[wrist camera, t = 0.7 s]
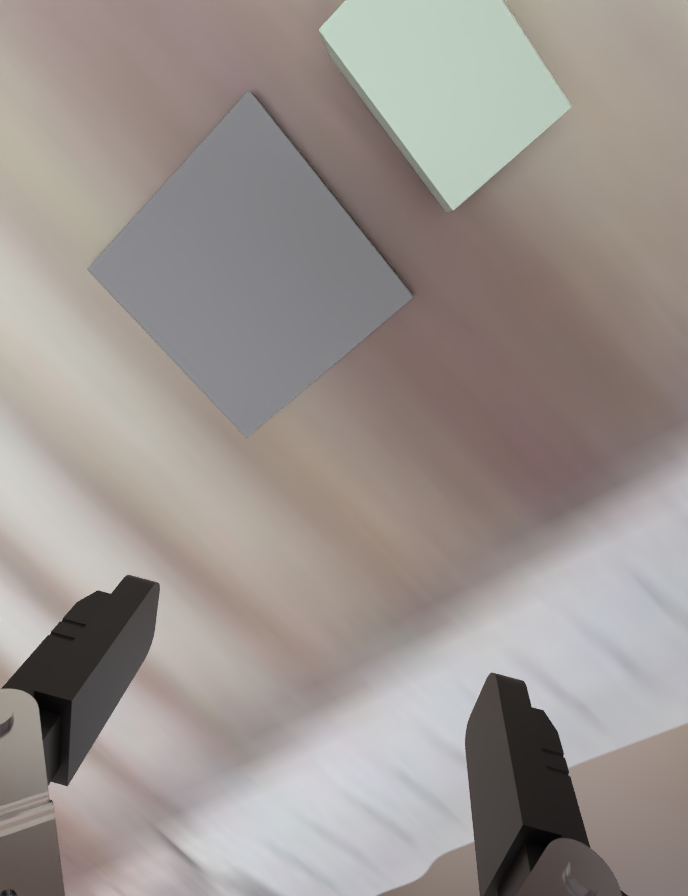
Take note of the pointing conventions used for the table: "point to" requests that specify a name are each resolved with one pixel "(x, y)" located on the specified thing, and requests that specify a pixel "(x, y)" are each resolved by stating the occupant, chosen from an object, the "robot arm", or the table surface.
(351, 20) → the mint green toy brick
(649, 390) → the table surface
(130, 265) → the mat
